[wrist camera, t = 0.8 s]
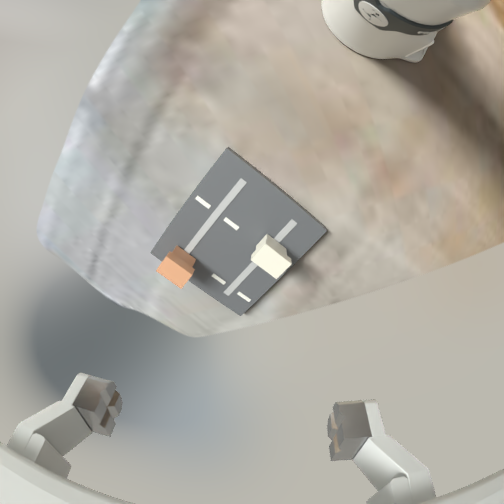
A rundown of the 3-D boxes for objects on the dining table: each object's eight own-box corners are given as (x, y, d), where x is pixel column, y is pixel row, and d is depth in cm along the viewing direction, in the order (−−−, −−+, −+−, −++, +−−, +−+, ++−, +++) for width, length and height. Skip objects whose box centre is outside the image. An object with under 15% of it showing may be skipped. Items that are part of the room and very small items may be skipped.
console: (228, 147, 39) (226, 148, 37) (325, 226, 43) (327, 230, 41) (153, 248, 46) (150, 253, 45) (241, 310, 50) (240, 316, 49)
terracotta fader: (175, 242, 43) (166, 256, 39) (199, 259, 44) (192, 275, 40) (165, 256, 44) (155, 270, 40) (188, 272, 45) (181, 288, 41)
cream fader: (266, 230, 42) (265, 243, 38) (289, 248, 43) (291, 264, 39) (252, 245, 43) (250, 260, 39) (276, 263, 44) (276, 279, 40)
